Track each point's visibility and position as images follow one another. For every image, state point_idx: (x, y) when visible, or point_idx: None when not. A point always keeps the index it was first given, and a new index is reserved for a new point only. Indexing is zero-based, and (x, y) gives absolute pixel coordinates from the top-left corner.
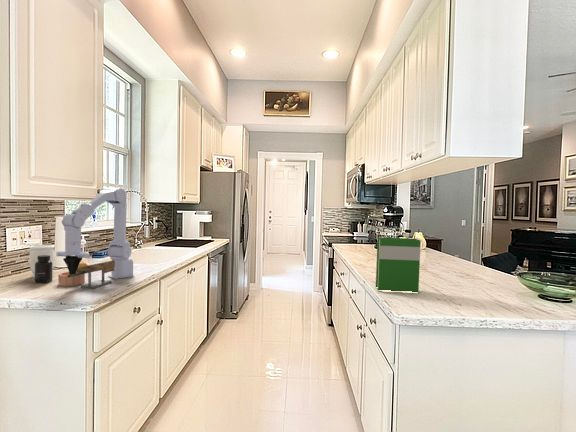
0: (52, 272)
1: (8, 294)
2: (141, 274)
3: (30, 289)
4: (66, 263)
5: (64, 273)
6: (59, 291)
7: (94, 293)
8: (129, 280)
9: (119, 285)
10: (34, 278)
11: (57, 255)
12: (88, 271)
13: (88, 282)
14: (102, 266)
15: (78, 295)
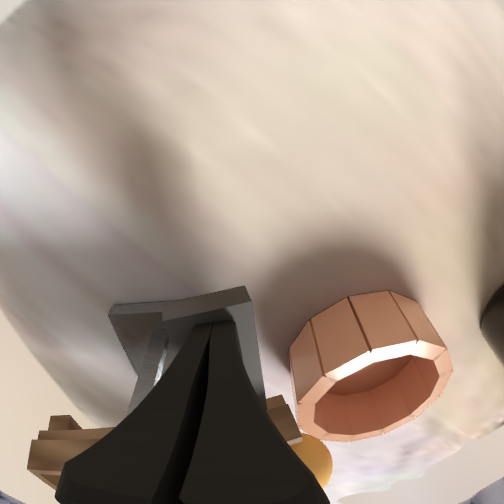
0: (502, 364)
1: (489, 11)
2: None
3: (486, 145)
4: (252, 428)
5: (432, 384)
6: (258, 161)
7: (15, 228)
8: None
9: (87, 387)
10: None
11: (502, 493)
12: None
13: (161, 345)
14: (43, 447)
15: (37, 146)
